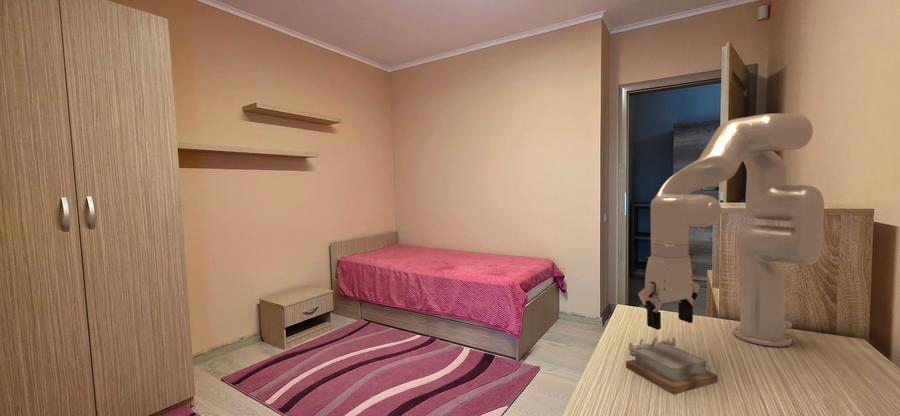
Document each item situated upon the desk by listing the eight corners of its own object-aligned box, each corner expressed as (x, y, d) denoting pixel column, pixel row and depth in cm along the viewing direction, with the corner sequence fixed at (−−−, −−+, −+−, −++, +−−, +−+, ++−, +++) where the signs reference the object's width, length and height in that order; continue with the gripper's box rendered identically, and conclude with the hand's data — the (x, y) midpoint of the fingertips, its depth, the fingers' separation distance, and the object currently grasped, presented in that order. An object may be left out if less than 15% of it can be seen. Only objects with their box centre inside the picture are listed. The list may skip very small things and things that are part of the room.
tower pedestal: (666, 357, 96) (666, 340, 96) (717, 381, 84) (717, 362, 84) (626, 367, 92) (625, 349, 92) (673, 394, 80) (673, 373, 79)
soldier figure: (681, 336, 97) (635, 331, 97) (685, 356, 95) (638, 352, 95) (664, 339, 104) (621, 335, 104) (667, 358, 102) (623, 354, 102)
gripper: (682, 245, 93) (682, 314, 94) (627, 251, 87) (627, 324, 88) (712, 249, 86) (712, 323, 87) (654, 257, 80) (655, 336, 81)
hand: (670, 324), depth 87 cm, fingers open, 9 cm apart
